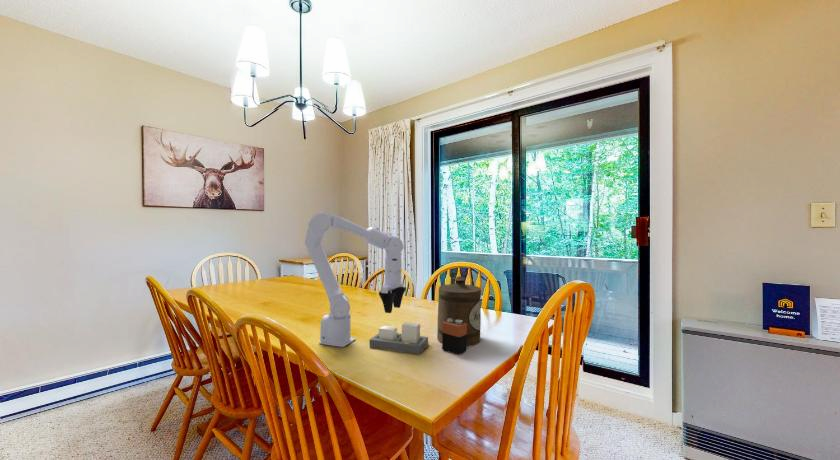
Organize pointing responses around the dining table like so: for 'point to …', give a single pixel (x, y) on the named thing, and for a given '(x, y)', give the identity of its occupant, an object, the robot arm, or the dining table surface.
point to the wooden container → (460, 308)
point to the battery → (454, 336)
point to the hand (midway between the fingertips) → (392, 309)
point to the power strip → (396, 341)
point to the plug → (411, 332)
